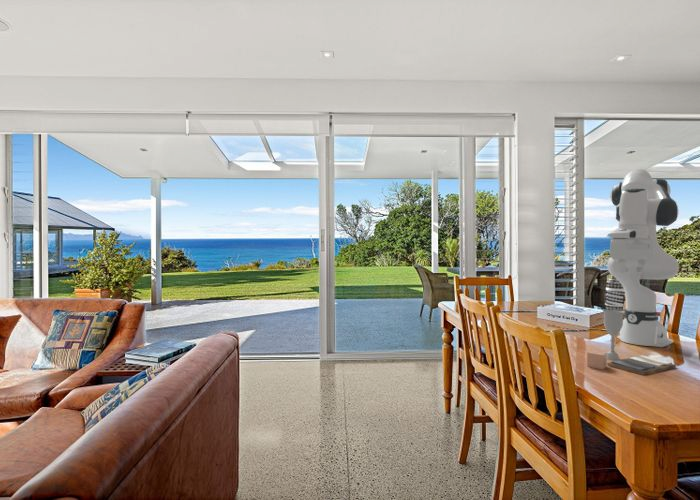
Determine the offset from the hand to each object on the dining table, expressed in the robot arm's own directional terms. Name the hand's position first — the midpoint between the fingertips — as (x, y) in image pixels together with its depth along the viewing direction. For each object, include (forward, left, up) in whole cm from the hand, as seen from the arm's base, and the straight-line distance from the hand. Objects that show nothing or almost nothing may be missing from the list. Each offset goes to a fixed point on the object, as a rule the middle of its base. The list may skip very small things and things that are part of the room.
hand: (631, 272), depth 152 cm
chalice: (-4, -8, -34) cm, 35 cm away
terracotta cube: (+12, -4, -34) cm, 36 cm away
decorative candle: (-61, -42, -34) cm, 81 cm away
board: (-3, +3, -34) cm, 34 cm away
